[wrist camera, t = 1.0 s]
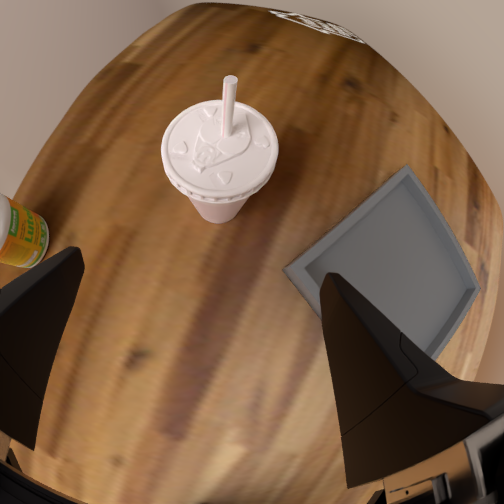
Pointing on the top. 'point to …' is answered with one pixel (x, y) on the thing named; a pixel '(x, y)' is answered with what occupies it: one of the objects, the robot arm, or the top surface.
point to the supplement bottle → (21, 234)
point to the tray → (396, 262)
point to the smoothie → (219, 154)
